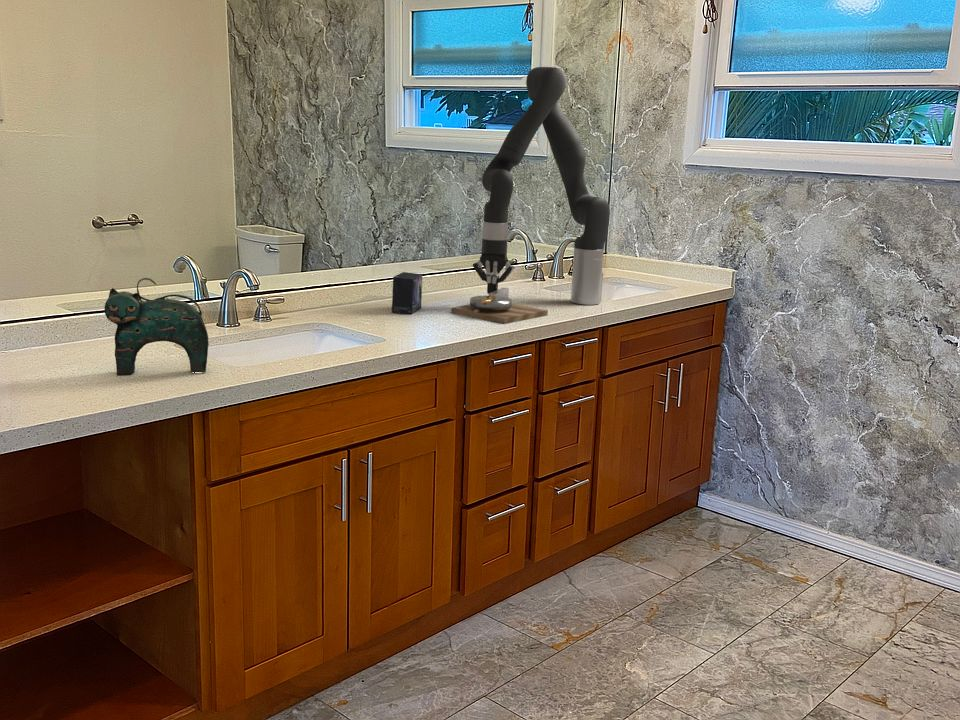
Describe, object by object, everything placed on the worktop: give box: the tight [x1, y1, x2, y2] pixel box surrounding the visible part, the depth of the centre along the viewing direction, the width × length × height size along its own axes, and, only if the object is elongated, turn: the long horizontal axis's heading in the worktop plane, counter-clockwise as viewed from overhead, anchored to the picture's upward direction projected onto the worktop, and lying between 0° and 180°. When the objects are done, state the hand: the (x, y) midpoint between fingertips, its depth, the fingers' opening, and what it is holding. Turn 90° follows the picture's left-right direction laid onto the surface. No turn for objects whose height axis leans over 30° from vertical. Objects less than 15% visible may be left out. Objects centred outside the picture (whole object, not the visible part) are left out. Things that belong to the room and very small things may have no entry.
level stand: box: [450, 302, 549, 325], centre depth 277 cm, size 20×20×2 cm
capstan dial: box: [469, 287, 513, 310], centre depth 278 cm, size 20×12×4 cm, turn 160°
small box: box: [391, 271, 423, 315], centre depth 275 cm, size 11×6×10 cm, turn 168°
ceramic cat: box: [104, 277, 210, 376], centre depth 197 cm, size 20×6×20 cm, turn 103°
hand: (492, 295), depth 284 cm, fingers closed
